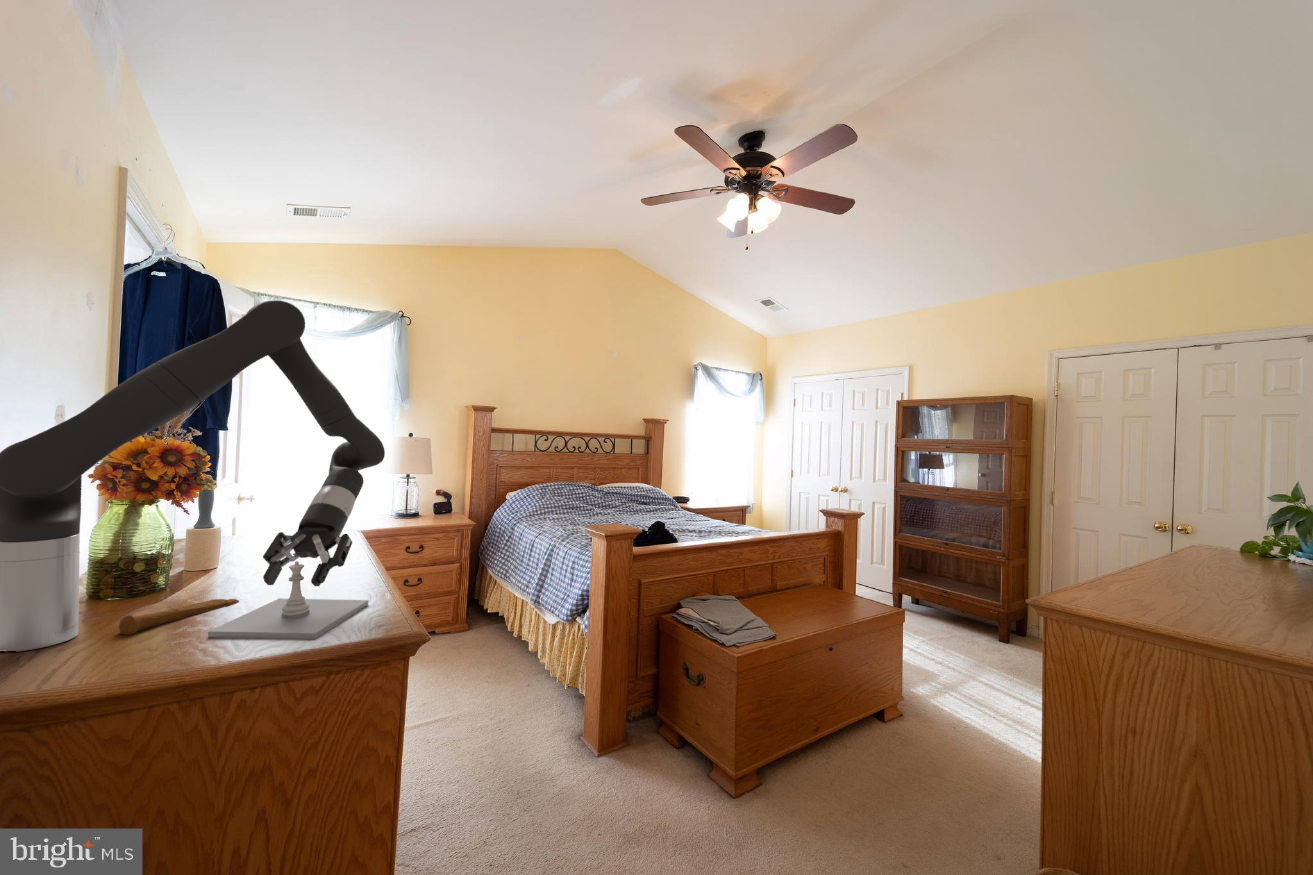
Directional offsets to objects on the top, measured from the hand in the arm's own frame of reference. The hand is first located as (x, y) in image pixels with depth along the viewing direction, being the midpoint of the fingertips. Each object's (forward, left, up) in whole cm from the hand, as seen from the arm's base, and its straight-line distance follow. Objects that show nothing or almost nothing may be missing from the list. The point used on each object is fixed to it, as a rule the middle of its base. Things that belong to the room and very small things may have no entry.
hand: (291, 583), depth 99 cm
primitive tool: (-22, +3, -8) cm, 24 cm away
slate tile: (0, +1, -7) cm, 7 cm away
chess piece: (0, +1, -6) cm, 6 cm away
